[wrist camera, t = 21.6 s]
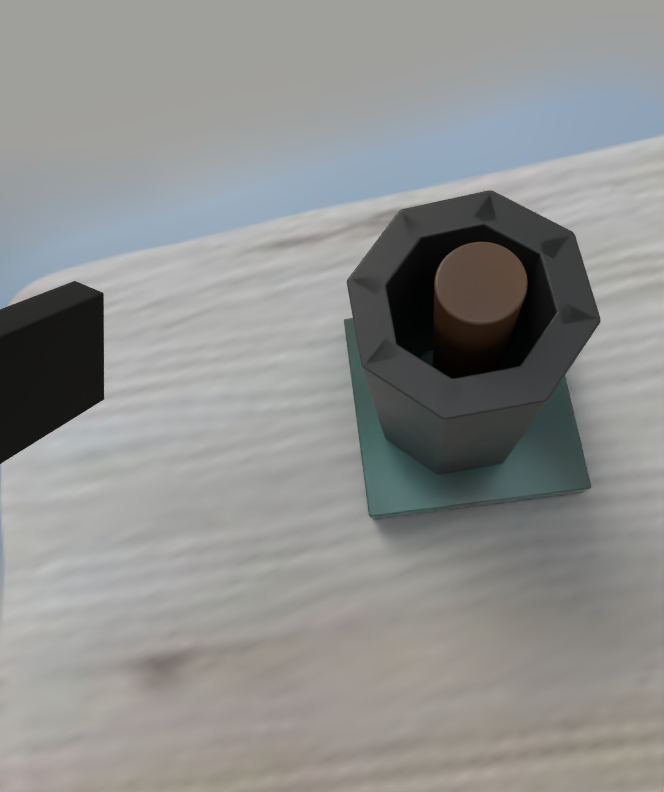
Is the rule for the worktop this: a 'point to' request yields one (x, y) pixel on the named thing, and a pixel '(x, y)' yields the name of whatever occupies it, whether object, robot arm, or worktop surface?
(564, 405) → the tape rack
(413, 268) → the grey octagonal sleeve
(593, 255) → the worktop surface
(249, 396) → the worktop surface
